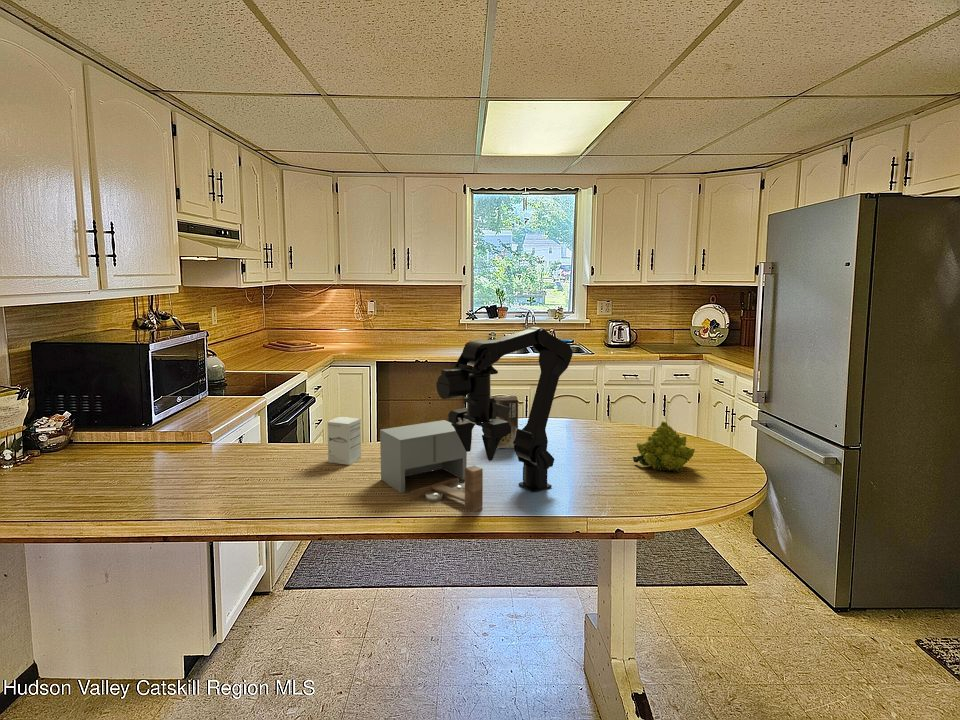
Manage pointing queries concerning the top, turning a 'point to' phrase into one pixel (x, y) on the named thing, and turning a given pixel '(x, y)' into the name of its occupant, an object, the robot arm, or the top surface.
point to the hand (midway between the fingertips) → (479, 455)
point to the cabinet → (420, 451)
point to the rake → (470, 496)
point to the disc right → (458, 486)
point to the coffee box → (512, 419)
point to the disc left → (433, 495)
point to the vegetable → (664, 450)
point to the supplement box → (344, 440)
